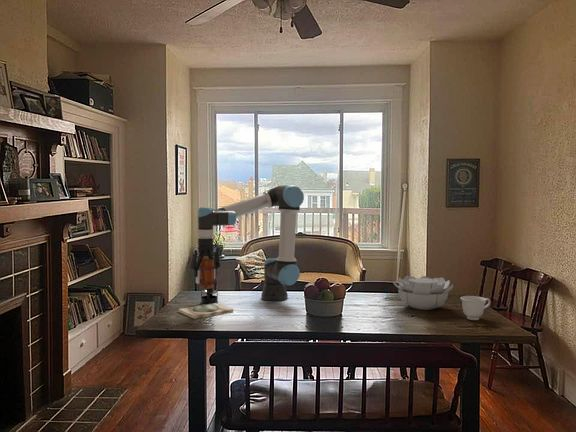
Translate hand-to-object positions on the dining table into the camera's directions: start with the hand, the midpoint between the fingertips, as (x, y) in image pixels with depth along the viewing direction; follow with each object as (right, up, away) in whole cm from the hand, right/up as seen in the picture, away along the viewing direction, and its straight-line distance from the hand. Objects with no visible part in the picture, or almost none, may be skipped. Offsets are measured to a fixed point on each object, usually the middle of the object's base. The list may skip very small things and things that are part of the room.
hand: (205, 282), depth 254 cm
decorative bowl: (+113, -15, +13) cm, 115 cm away
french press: (-1, -14, +22) cm, 26 cm away
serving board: (0, -15, +1) cm, 15 cm away
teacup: (+133, -17, -9) cm, 135 cm away
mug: (+1, -3, +1) cm, 3 cm away
